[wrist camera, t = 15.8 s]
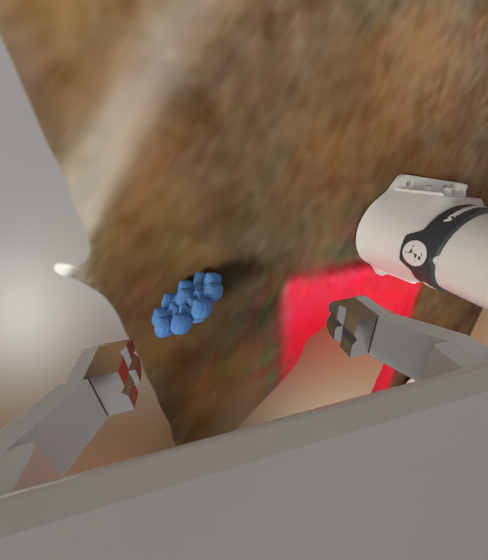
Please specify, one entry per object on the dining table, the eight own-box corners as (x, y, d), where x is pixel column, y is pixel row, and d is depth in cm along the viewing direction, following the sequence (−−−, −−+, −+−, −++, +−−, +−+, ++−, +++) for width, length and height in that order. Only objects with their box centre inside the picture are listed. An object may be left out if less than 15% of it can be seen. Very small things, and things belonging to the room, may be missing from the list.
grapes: (172, 317, 41) (168, 369, 31) (148, 289, 38) (135, 336, 27) (229, 285, 41) (245, 327, 31) (210, 254, 38) (221, 289, 27)
